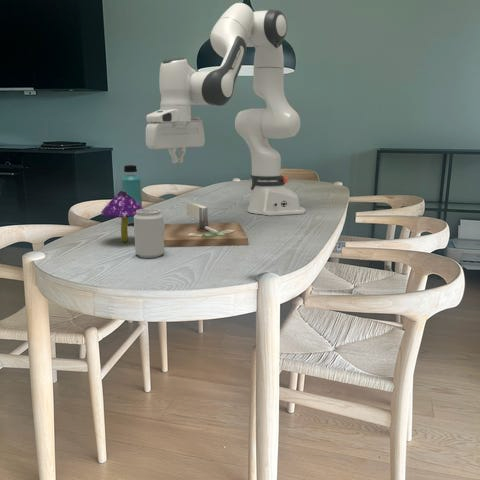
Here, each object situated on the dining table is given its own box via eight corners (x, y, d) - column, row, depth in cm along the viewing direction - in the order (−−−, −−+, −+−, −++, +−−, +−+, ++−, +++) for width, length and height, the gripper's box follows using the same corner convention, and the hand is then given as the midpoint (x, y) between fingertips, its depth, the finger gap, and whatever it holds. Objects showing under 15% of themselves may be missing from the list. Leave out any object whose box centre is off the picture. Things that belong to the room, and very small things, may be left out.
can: (137, 251, 129) (135, 207, 127) (165, 251, 130) (163, 207, 127) (133, 259, 122) (131, 212, 119) (163, 258, 123) (161, 212, 120)
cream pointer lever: (221, 234, 140) (220, 211, 138) (212, 235, 138) (212, 212, 137) (193, 222, 156) (192, 201, 155) (185, 222, 155) (185, 202, 154)
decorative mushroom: (125, 249, 131) (122, 195, 128) (93, 243, 138) (89, 191, 134) (156, 240, 142) (154, 189, 138) (125, 235, 148) (122, 186, 144)
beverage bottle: (146, 223, 166) (144, 164, 161) (136, 227, 160) (133, 166, 155) (130, 222, 168) (127, 164, 163) (119, 225, 162) (116, 165, 157)
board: (239, 228, 158) (239, 221, 158) (248, 244, 137) (248, 237, 136) (165, 230, 155) (164, 223, 155) (162, 247, 134) (162, 239, 134)
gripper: (195, 115, 152) (196, 160, 155) (141, 115, 137) (143, 164, 140) (208, 115, 147) (209, 161, 151) (154, 115, 133) (157, 166, 136)
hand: (177, 163), depth 146 cm, fingers closed
